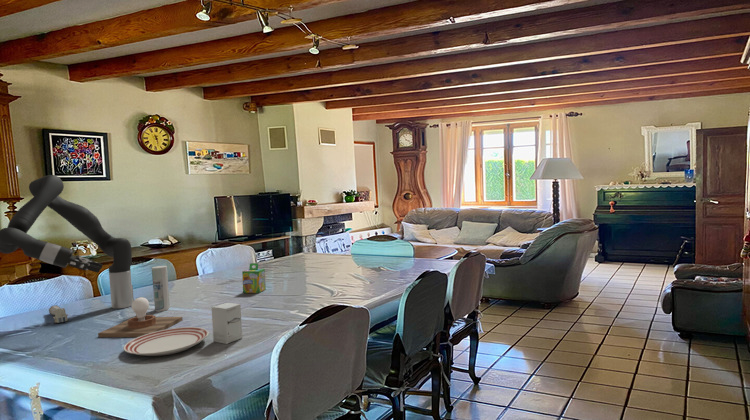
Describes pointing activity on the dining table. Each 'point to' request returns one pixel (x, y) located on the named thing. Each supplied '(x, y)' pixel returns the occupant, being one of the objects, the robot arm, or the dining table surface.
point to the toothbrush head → (58, 314)
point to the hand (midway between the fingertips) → (100, 268)
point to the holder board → (141, 331)
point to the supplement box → (226, 323)
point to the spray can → (160, 288)
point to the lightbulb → (140, 308)
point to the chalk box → (254, 279)
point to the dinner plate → (166, 341)
